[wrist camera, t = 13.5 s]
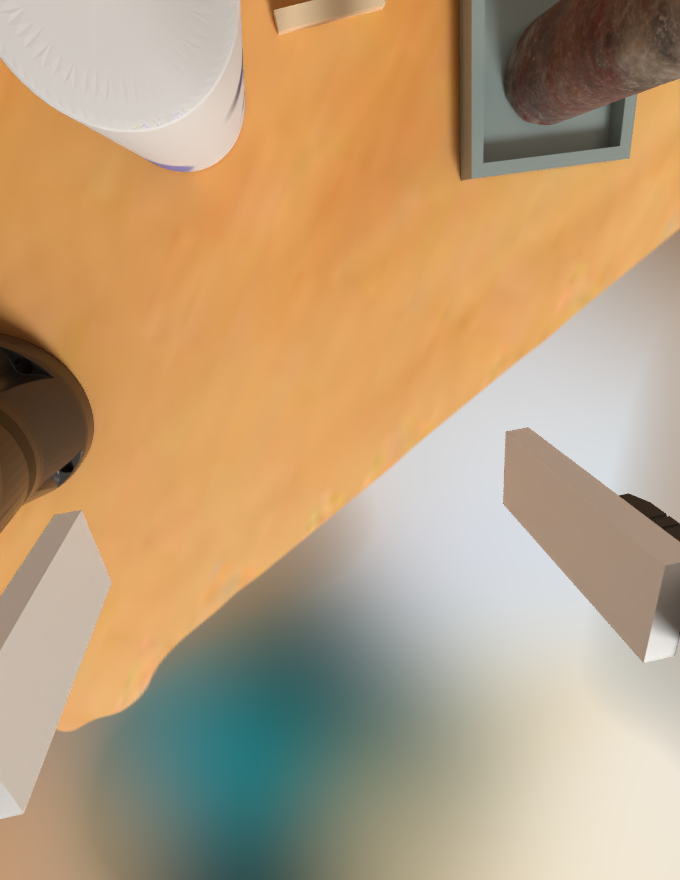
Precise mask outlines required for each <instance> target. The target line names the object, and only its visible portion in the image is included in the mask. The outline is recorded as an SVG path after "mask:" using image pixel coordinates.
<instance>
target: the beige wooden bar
mask: <svg viewBox="0 0 680 880" xmlns="http://www.w3.org/2000/svg"><path fill="white" fill-rule="evenodd" d="M384 6H385V0H312V1H308V2H304V3H300V4H296V5H292V6H288V7H284V8H280V9H276V10H274V13H273V15H274V20H275V24H276V28H277V33H278V35H281V34H285V33H289V32H293V31H297V30H301V29H305V28H309V27H313V26H317V25H321V24H325V23H329V22H333V21H337V20H341V19H345V18H349V17H353V16H357V15H361V14H365V13H369V12H373V11H377V10H381V9H383V8H384Z"/></svg>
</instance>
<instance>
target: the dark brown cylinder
mask: <svg viewBox="0 0 680 880" xmlns="http://www.w3.org/2000/svg"><path fill="white" fill-rule="evenodd" d="M677 79H680V0H560V1H558V2H557V3H556V4H554V5H553V6H552V7H551V8H549V9H548V10H547V11H545V12H544V13H543V14H541V15H540V16H539V17H537V18H536V19H535V20H534V21H533V22H532V23H531V24H530V25H529V26H528V27H527V28H526V29H525V30H524V32H523V33H522V34H521V36H520V37H519V38H518V41H517V43H516V45H515V47H514V49H513V51H512V55H511V57H510V61H509V64H508V67H507V71H506V73H505V79H504V86H505V93H506V96H507V99H508V101H509V103H510V105H511V106H512V108H513V109H514V111H515V112H516V114H517V115H518V116H519V117H520V118H521V119H522V120H524V121H526V122H528V123H533V124H538V125H553V124H557V123H560V122H562V121H565V120H568V119H571V118H573V117H576V116H579V115H581V114H584V113H587V112H589V111H592V110H594V109H597V108H600V107H603V106H605V105H608V104H610V103H612V102H615V101H618V100H620V99H623V98H626V97H629V96H632V95H635V94H638V93H641V92H643V91H646V90H649V89H651V88H654V87H656V86H659V85H662V84H665V83H668V82H671V81H674V80H677Z"/></svg>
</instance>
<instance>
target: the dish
mask: <svg viewBox="0 0 680 880" xmlns="http://www.w3.org/2000/svg"><path fill="white" fill-rule="evenodd" d="M558 1H560V0H460V111H461V180H469V179H477V178H484V177H492V176H500V175H508V174H516V173H523V172H531V171H539V170H547V169H554V168H562V167H570V166H578V165H586V164H593V163H601V162H609V161H616V160H622V159H629V157H630V149H631V141H632V133H633V125H634V117H635V109H636V101H637V94H635V95H632V96H629V97H626V98H623V99H620V100H618V101H615V102H612V103H610V104H608V105H605V106H603V107H600V108H597V109H594V110H592V111H589V112H587V113H584V114H581V115H579V116H576V117H573V118H571V119H568V120H565V121H562V122H560V123H557V124H553V125H538V124H533V123H528V122H526V121H524V120H522V119H521V118H520V117H519V116H518V115H517V114H516V112H515V111H514V109H513V108H512V106H511V105H510V103H509V101H508V99H507V96H506V93H505V86H504V79H505V73H506V71H507V67H508V64H509V61H510V57H511V55H512V51H513V49H514V47H515V45H516V43H517V41H518V38H519V37H520V36H521V34H522V33H523V32H524V30H525V29H526V28H527V27H528V26H529V25H530V24H531V23H532V22H533V21H534V20H535V19H536V18H537V17H539V16H540V15H541V14H543V13H544V12H545V11H547V10H548V9H549V8H551V7H552V6H553V5H554V4H556V3H557V2H558Z"/></svg>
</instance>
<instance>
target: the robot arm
mask: <svg viewBox="0 0 680 880" xmlns="http://www.w3.org/2000/svg"><path fill="white" fill-rule="evenodd" d="M93 433H94V421H93V414H92V410H91V406H90V403H89V401H88V398H87V396H86V394H85V392H84V390H83V389H82V387H81V385H80V384H79V382H78V381H77V380H76V378H75V377H74V376H73V375H72V373H71V372H70V371H69V370H68V369H67V368H66V367H65V366H64V365H63V364H62V363H60V362H59V361H58V360H57V359H55V358H54V357H53V356H51V355H50V354H48V353H47V352H45V351H44V350H42V349H40V348H39V347H37V346H35V345H33V344H31V343H28V342H26V341H24V340H21V339H18V338H15V337H11V336H8V335H3V334H0V533H1V532H2V531H3V529H4V528H5V527H6V525H7V524H8V523H9V522H10V520H11V519H12V518H13V517H14V515H15V514H16V513H17V511H18V510H19V509H20V507H21V506H22V505H24V504H26V503H28V502H30V501H32V500H35V499H37V498H39V497H41V496H43V495H45V494H48V493H50V492H51V491H53V490H55V489H57V488H58V487H60V486H61V485H62V484H64V483H65V482H66V481H67V480H68V479H69V478H70V477H71V476H72V475H73V474H74V473H75V472H76V470H77V469H78V467H79V466H80V465H81V463H82V462H83V460H84V459H85V457H86V455H87V453H88V451H89V449H90V446H91V443H92V439H93ZM505 441H506V442H505V467H504V468H505V469H504V496H503V497H504V498H503V504H504V505H505V506H506V507H507V509H508V510H509V511H510V512H511V513H512V514H513V515H514V517H516V519H517V520H518V521H519V522H520V523H521V524H522V526H523V527H524V528H525V529H526V530H527V531H528V532H529V533H530V535H531V536H532V537H533V538H534V539H535V540H536V541H537V543H538V544H539V545H540V546H541V547H542V548H543V549H544V551H545V552H546V553H547V554H548V555H549V556H550V557H551V559H552V560H553V561H554V562H555V563H556V564H557V565H558V566H559V567H560V568H561V570H562V571H563V572H564V573H565V574H566V575H567V577H568V578H569V579H570V580H571V581H572V582H573V583H574V585H575V586H576V587H577V588H578V589H579V590H580V591H581V592H582V593H583V595H584V596H585V597H586V598H587V599H588V600H589V602H590V603H591V604H592V605H593V606H594V607H595V608H596V610H598V612H599V613H600V614H601V615H602V616H603V617H604V619H605V620H606V621H607V622H608V623H609V624H610V625H611V627H612V628H613V629H614V630H615V631H616V632H617V633H618V634H619V636H620V637H621V638H622V639H623V640H624V641H625V642H626V644H627V645H628V646H629V647H630V648H631V649H632V650H633V651H634V653H635V654H636V655H637V656H638V657H639V658H640V659H641V661H642V662H643V663H646V662H650V661H654V660H658V659H662V658H666V657H670V656H674V655H675V654H676V650H677V646H678V643H679V639H680V524H679V523H678V522H677V521H675V520H674V519H673V518H671V517H670V516H668V517H667V516H666V513H664V512H663V511H661V510H660V509H659V508H657V507H656V506H654V505H653V504H652V503H650V502H648V501H646V500H643V499H641V498H638V497H636V496H633V495H631V494H625V495H620V496H618V495H617V494H616V493H614V492H613V491H612V490H610V489H609V488H608V487H606V486H605V485H604V484H602V483H601V482H600V481H598V480H597V479H596V478H594V477H593V476H591V474H589V473H588V472H587V471H585V470H584V469H582V468H581V467H580V466H579V465H577V464H576V463H575V462H573V461H572V460H571V459H569V458H568V457H567V456H565V455H564V454H562V453H561V452H560V451H559V450H557V449H556V448H555V447H553V446H552V445H551V444H549V443H548V442H547V441H546V440H544V439H543V438H542V437H540V436H539V435H538V434H536V433H535V432H534V431H532V430H531V429H530V428H523V429H517V430H512V431H506V440H505ZM111 583H112V582H111V579H110V577H109V575H108V572H107V570H106V567H105V565H104V563H103V560H102V558H101V555H100V553H99V551H98V548H97V546H96V543H95V541H94V539H93V536H92V534H91V532H90V529H89V527H88V524H87V522H86V520H85V517H84V515H83V512H82V510H79V511H73V512H68V513H62V514H57V515H54V516H53V518H52V519H51V521H50V522H49V524H48V525H47V527H46V528H45V530H44V531H43V533H42V534H41V536H40V537H39V539H38V540H37V542H36V543H35V545H34V546H33V548H32V550H31V551H30V553H29V554H28V556H27V557H26V559H25V560H24V562H23V563H22V565H21V566H20V568H19V569H18V571H17V572H16V574H15V575H14V577H13V578H12V580H11V581H10V583H9V584H8V586H7V587H6V589H5V590H4V592H3V593H2V595H1V597H0V819H3V818H7V817H11V816H15V815H19V814H23V813H24V811H25V809H26V806H27V804H28V801H29V798H30V796H31V793H32V790H33V788H34V785H35V783H36V780H37V777H38V775H39V772H40V769H41V767H42V764H43V762H44V759H45V756H46V754H47V751H48V748H49V746H50V743H51V740H52V738H53V735H54V733H55V730H56V727H57V725H58V722H59V720H60V717H61V714H62V712H63V709H64V706H65V704H66V701H67V699H68V696H69V693H70V691H71V688H72V685H73V683H74V680H75V678H76V675H77V672H78V670H79V667H80V664H81V662H82V659H83V657H84V654H85V651H86V649H87V646H88V643H89V641H90V638H91V635H92V633H93V630H94V628H95V625H96V622H97V620H98V617H99V614H100V612H101V609H102V607H103V604H104V601H105V599H106V596H107V593H108V591H109V588H110V586H111Z"/></svg>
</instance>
